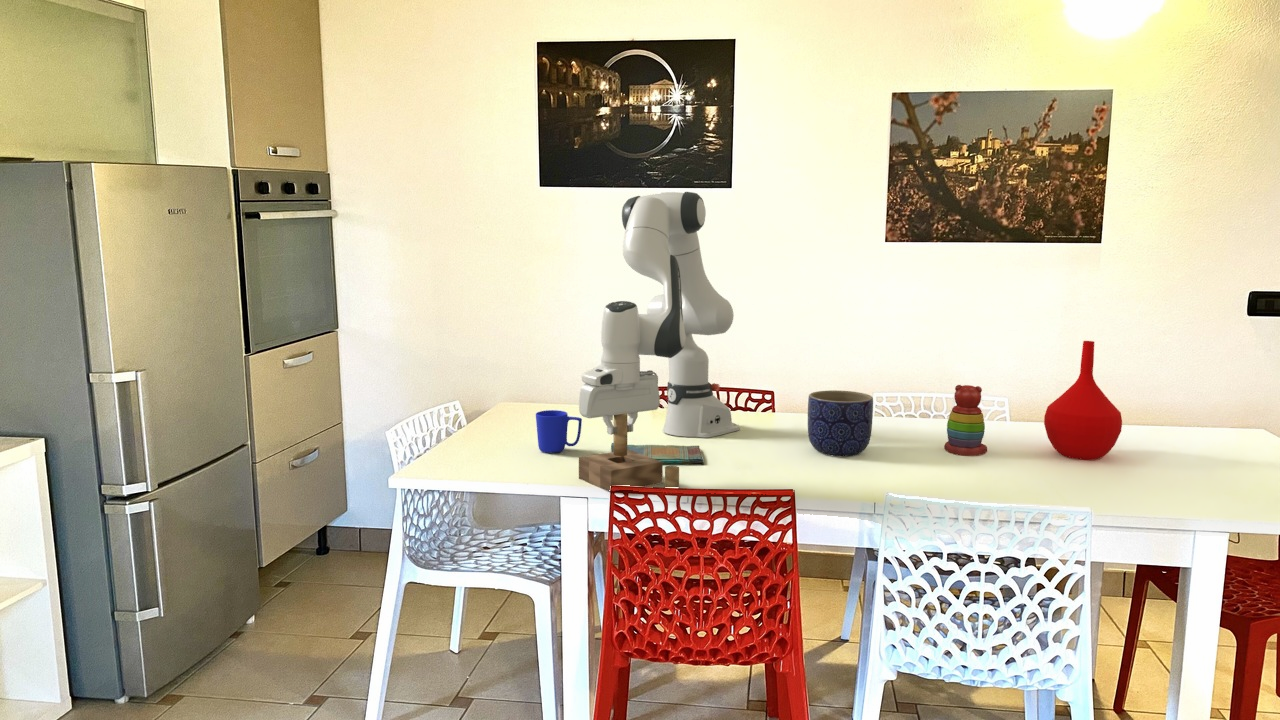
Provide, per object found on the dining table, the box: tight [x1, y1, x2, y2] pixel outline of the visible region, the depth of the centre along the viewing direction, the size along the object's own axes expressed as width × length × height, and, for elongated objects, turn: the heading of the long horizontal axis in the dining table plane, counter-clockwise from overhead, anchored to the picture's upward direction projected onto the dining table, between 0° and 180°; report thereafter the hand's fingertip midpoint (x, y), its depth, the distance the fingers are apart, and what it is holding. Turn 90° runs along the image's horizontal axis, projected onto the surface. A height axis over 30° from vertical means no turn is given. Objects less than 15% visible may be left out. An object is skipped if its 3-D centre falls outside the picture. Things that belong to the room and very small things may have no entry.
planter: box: [807, 389, 874, 457], centre depth 253 cm, size 16×17×15 cm
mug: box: [535, 409, 583, 454], centre depth 252 cm, size 8×12×10 cm
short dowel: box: [664, 465, 680, 488], centre depth 219 cm, size 3×3×5 cm
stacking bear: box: [943, 384, 988, 457], centre depth 254 cm, size 11×10×18 cm
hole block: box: [578, 450, 664, 492], centre depth 225 cm, size 14×14×5 cm
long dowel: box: [612, 413, 628, 456], centre depth 224 cm, size 3×3×10 cm
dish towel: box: [610, 442, 704, 466], centre depth 248 cm, size 17×23×2 cm
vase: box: [1043, 340, 1123, 461], centre depth 250 cm, size 18×18×30 cm
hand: (620, 432), depth 224 cm, fingers closed on long dowel, 3 cm apart
